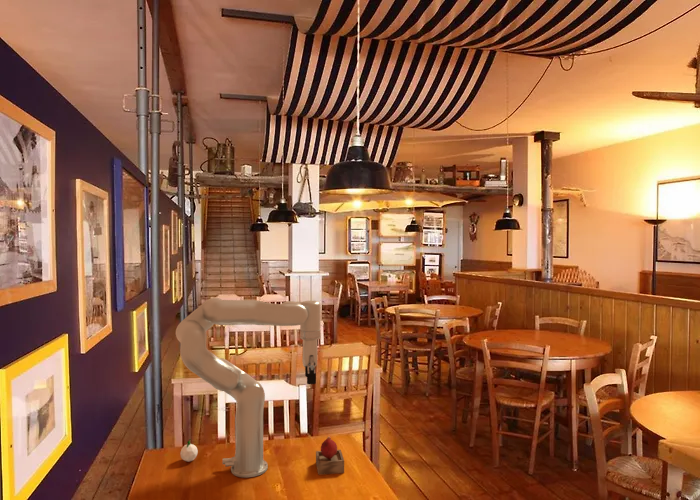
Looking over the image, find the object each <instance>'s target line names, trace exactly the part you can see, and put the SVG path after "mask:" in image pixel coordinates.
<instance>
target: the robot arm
mask: <svg viewBox="0 0 700 500" xmlns="http://www.w3.org/2000/svg"><path fill="white" fill-rule="evenodd" d="M321 310H322V309H321V303H320V301H317V300H304V301H294V300H293V301H291V300H287V301H284V302H282V303H280V304H279V303H271V302H266V301H261V300H256V299H221V298H219V297H211V298H209V299H207V300H205V301H204V302H203V303H202V304H201V305H199V306H198V307H197V308H196V309H194V310H193V311H192V312H191V313H190V314H188V315H187V316H186V317H185V318H184V319H182V320H181V321H180V322H179V323H178V325H177V326H176V329H175V337H176V339H177V340H178V342H179V343H180V357H181V358H180V359H181V361H182V363H183V365H184V366H185V367H186V368H187V369H188V370H189V371H190V372H192V373H193V374H195V375H196V376H197V377H199V378H200V379H201V380H203V381H205V382H206V383H208V384H209V385H210V386H212V387H213V388H215V390H218V391H221V392H224V393H226V394H227V395H229V396H231V397H232V398H233V399H234V400H235V401H236V409H235V419H234V420H235V421H234V423H235V426H234V427H235V434H234V435H235V436H234V437H235V440H234V441H235V453H234V456H232V457H229V458H228V457H227V458H222V463H221V464H222V465H225V467H228V468H229V467H230V472H231V474H232V475H233V476H236V477H238V478H245V479H246V478H253V477H257V476H260V475H263V474H264V473H266V471H267V470H268V462H267V461H266V460H265V459H264V407H265V400H266V399H265V398H266V396H265V395H266V394H265V390H264V387H263V386H262V384H261V383H260V382H259V381H257V380H256V379H255V378H253V377H252V376H251V375H250V374H248V373H247V372H245V371H243V370H242V369H241V368H239V367H238V366H236V365H235V364H234V363H232V362H230V361H229V360H228V359H225V358H222V357H218V356H217V355H215V353H213V352H212V351H210V350H209V349H208V348H207V338H208V335H207V331H208V330H210V328H211V327H213V326H214V325H216V326H240V325H241V326H244V325H246V326H247V325H250V326H252V325H255V326H256V325H257V326H276V327H290V326H291V327H292V326H293V327H295V326H300V328H299V329H300V330H299V332H300V333H299V334H300V336H299V339H301V340H302V356H301V357H302V359H301V361H302V362H301V363H302V366H303V367H304V371H305V374H304V375H305V376H304V377H306V384H307V385H316V384H317V372H316V367H317V366H318V340H320V339H321V338H322V337H321V336H322V335H321V330H322V329H321V312H322V311H321Z"/></svg>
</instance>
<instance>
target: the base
mask: <svg viewBox="0 0 700 500" xmlns="http://www.w3.org/2000/svg"><path fill="white" fill-rule="evenodd" d="M315 464H316V470H317V474H318V475H319V476H320V475H321V476H322V475H333V474H334V475H335V474H344V473H345V459H344V456H343V453H342V450H341V449H337V453H336V454H335V455H334V456H333V457H332V458H331V459H327V458H325V457H324V456H323V455H322V453H321V450H316V451H315Z"/></svg>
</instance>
